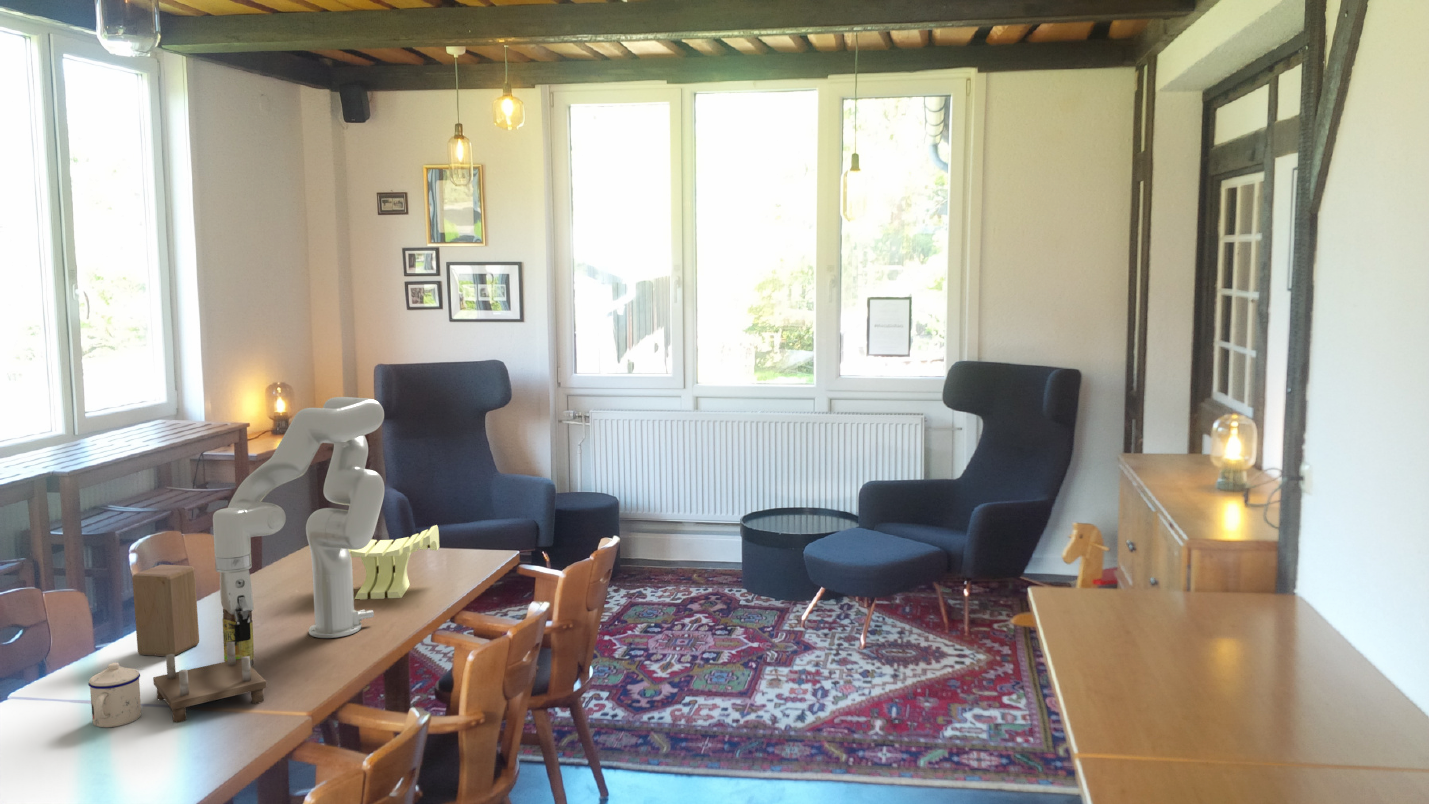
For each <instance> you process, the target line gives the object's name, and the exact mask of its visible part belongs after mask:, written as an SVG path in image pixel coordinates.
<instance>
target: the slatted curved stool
mask: <svg viewBox="0 0 1429 804" xmlns="http://www.w3.org/2000/svg"><path fill="white" fill-rule="evenodd" d="M419 549H420V551H423V550H424V551H427V550H428V549H430V550H431V551H436V552H437V551H438V550H439V549H440V533H439V527H438V525H437V524H436V525H435V524H434V525H432V526H431V527H430V528H429V529H425V530H422V531H421V532H420V533H415V534H412V535H411V536H410V537H409V536H407V537H403V538H396V539H395V540H394V539H380V540H377V539H373V538H372V539H371V541H370V542H369V544H368V545H367V546H365V547H364V548H362V549H358V550H351V549H348V550H349V552H350V555H351V558H360V559H361V561H362V564H363V566H364V568H365V574H366V575H365V580H364V582H363V584H362V586H361V587H360V589H359V590H358V591H357V593H356V595H355V596H354V601H355V599H360V600H368V599H370V600H378V599H379V600H381V599H382V600H383V599H385V598H387V599H402V598H403V596H404V595H405V593H406V592H407V590H408V588H409V587H410V581H409V577H408V564H409V561H410V557H411V554H413V553H415V552H417V551H418V550H419Z"/></svg>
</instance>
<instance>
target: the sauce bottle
mask: <svg viewBox="0 0 1429 804" xmlns="http://www.w3.org/2000/svg"><path fill="white" fill-rule="evenodd" d="M239 583H240V582H239ZM237 602H238V601H237ZM237 611H239V610H237ZM252 612H253V611H252ZM252 612H248V614H249V619H250V634H251V639H250V640H246V641H241V642H236V641H235V629H234V625H235V624H236V622H235V618H234V615H232V614H230V613H229V612H228V611H227V610H226V609H225V611H224V613H223V612H222V613H223V614H222V637H223V638H222V639H223V660H224V661H223V662H226V661H228V659H227V643H228V642H235V658H236V659H240V658H242V657H245V656H249V657H250V666H251V667H252V668H253V666H254V664H255V662H254V658H255V653H254V652H255V650H254V626H253V613H252ZM239 616H240V615H238V618H239Z"/></svg>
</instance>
